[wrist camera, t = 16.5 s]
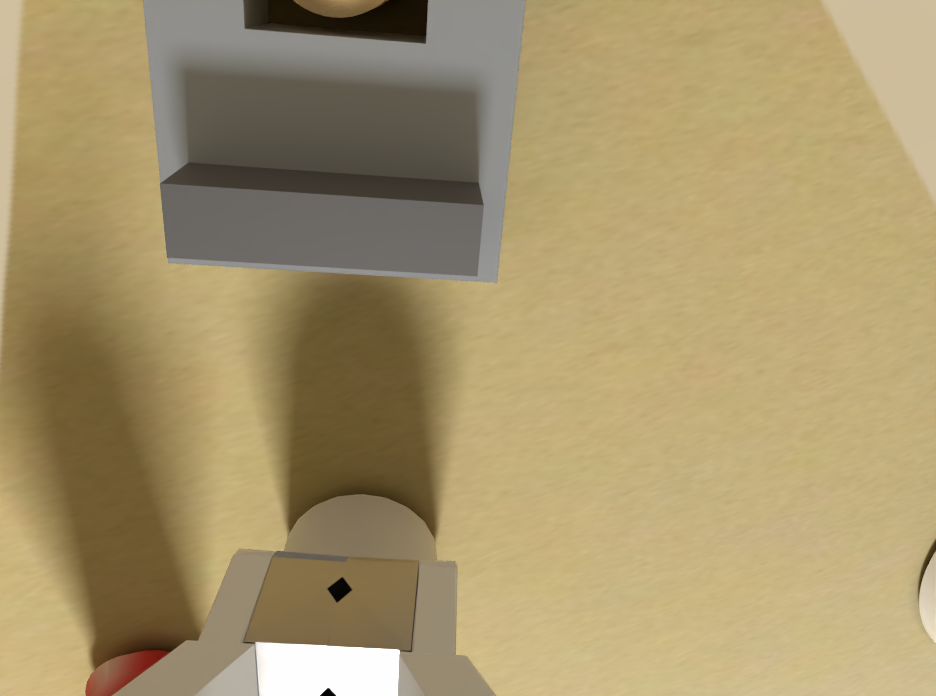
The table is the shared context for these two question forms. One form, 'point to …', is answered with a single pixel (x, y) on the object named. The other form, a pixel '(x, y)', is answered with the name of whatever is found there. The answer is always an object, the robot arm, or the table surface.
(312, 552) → the can
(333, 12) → the gold cylinder puck
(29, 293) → the table surface
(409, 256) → the frame
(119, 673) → the liquor
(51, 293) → the table surface
